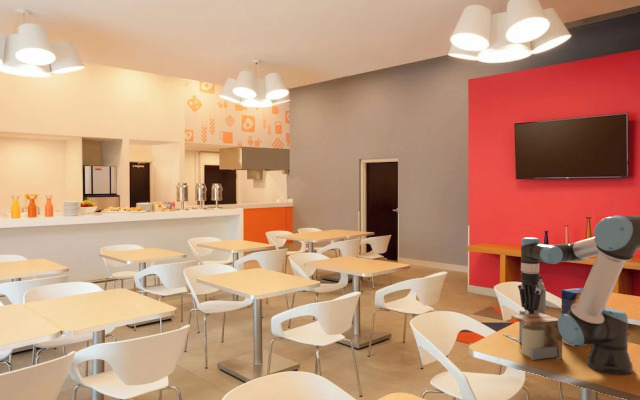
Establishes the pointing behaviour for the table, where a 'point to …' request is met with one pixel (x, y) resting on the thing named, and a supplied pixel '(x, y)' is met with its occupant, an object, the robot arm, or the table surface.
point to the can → (532, 338)
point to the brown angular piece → (548, 323)
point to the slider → (538, 352)
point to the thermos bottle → (543, 297)
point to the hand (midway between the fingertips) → (529, 324)
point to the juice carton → (570, 304)
